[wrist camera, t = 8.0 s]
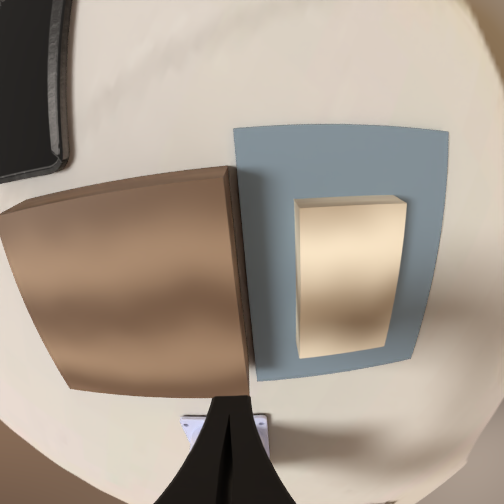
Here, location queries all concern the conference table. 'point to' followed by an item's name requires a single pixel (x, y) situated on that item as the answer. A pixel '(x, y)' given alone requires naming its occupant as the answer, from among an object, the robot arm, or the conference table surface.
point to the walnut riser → (135, 284)
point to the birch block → (346, 271)
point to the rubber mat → (334, 185)
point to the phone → (33, 87)
